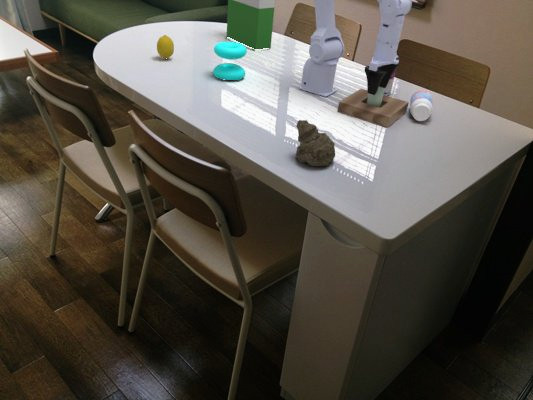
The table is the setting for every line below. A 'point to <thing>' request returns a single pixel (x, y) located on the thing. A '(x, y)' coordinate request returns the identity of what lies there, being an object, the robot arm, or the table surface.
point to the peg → (376, 98)
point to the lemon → (165, 46)
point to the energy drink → (390, 83)
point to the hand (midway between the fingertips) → (376, 90)
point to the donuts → (230, 52)
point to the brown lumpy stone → (314, 145)
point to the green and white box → (251, 22)
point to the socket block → (372, 108)
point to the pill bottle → (421, 105)
